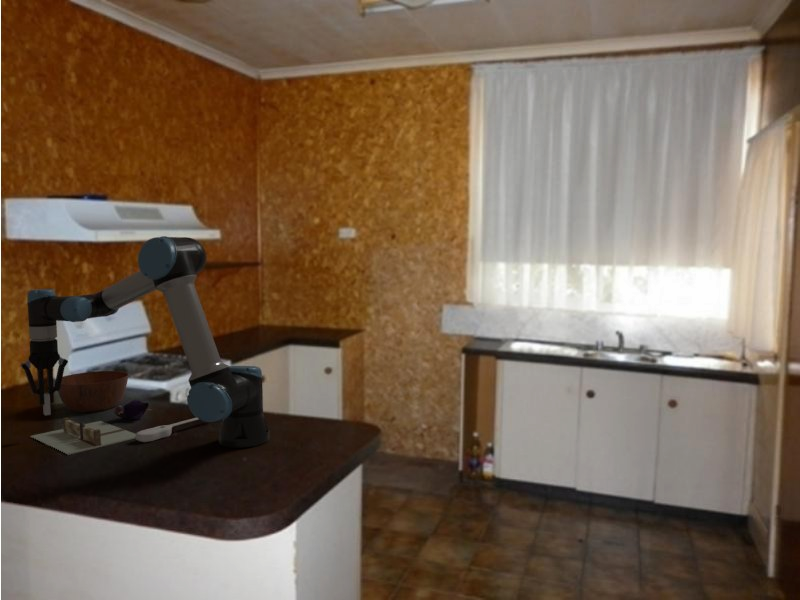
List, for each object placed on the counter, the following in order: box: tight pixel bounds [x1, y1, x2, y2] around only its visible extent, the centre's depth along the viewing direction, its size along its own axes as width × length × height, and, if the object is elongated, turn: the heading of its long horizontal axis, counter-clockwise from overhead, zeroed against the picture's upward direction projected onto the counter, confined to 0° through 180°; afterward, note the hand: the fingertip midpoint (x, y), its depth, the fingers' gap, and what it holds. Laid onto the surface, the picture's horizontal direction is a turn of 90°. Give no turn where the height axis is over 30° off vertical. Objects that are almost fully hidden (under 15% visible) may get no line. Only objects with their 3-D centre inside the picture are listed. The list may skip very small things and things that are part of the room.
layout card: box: [30, 420, 136, 456], centre depth 198 cm, size 28×22×1 cm
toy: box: [113, 398, 152, 420], centre depth 219 cm, size 11×12×7 cm
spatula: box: [135, 416, 200, 443], centre depth 202 cm, size 28×6×3 cm, turn 145°
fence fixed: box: [79, 421, 101, 446], centre depth 191 cm, size 11×1×6 cm, turn 50°
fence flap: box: [62, 417, 80, 437], centre depth 199 cm, size 11×1×4 cm, turn 50°
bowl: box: [54, 370, 129, 413], centre depth 236 cm, size 25×25×11 cm
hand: (47, 414), depth 196 cm, fingers closed
